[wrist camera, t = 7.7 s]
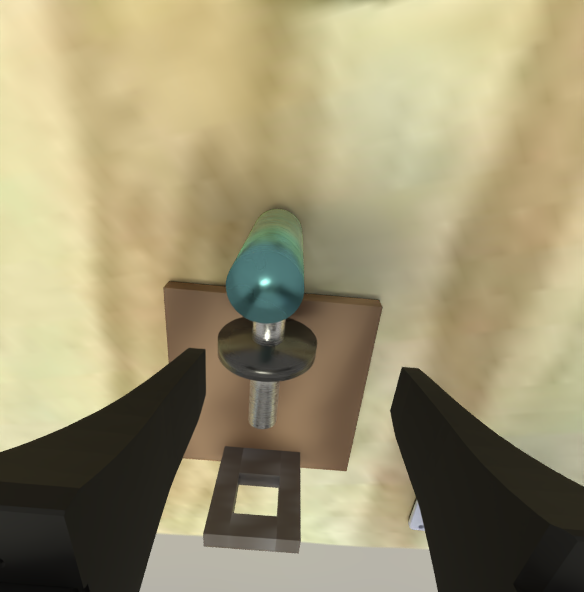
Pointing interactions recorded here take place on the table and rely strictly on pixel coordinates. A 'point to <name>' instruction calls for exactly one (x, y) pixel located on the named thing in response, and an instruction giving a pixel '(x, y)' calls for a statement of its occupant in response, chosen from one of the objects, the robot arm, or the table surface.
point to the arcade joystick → (267, 314)
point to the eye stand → (290, 413)
